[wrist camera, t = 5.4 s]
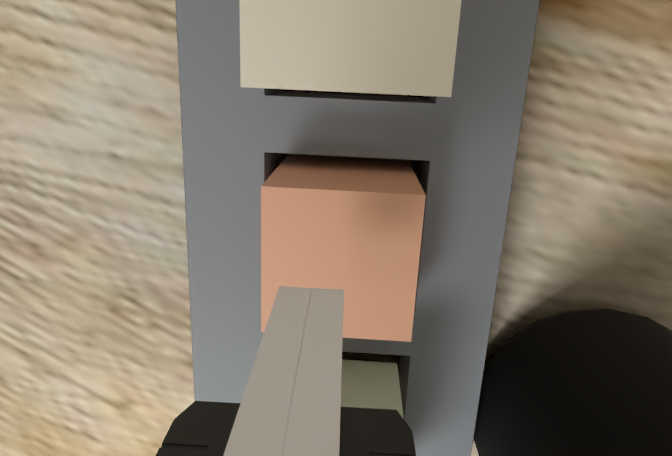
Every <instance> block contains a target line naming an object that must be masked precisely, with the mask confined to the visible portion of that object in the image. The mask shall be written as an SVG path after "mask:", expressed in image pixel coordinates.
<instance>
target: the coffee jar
mask: <svg viewBox="0 0 672 456" xmlns="http://www.w3.org/2000/svg"><path fill="white" fill-rule="evenodd" d="M474 441H475V444H476V447H477V451H478V454H479V456H672V331H671V330H669V329H667V328H665V327H664V326H662V325H660V324H659V323H657V322H655V321H653V320H652V319H650V318H648V317H644V316H639V315H634V314H629V313H625V312H620V311H615V310H610V309H594V310H581V311H568V312H565V313H561V314H558V315H555V316H552V317H549V318H547V319H544V320H541V321H538V322H536V323H533V324H531V325H529V326H528V327H527V328H525V329H524V330H522V331H521V332H520V333H518V334H517V335H515V336H514V337H513V338H511V339H510V340H508V341H507V342H506V343H505V344H504V345H503V346H502V347H501V348H500V350H499V351H498V352H497V354H496V355H495V356H494V357H493V359H492V360H491V361H490V363H489V364H488V365H487V366H486V368H485V369H484V371H483V377H482V384H481V390H480V397H479V404H478V410H477V417H476V423H475V430H474Z"/></svg>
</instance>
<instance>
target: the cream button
mask: <svg viewBox="0 0 672 456" xmlns="http://www.w3.org/2000/svg"><path fill="white" fill-rule="evenodd" d="M461 1H462V0H239V7H240V83H241V87H246V88H268V89H289V90H310V91H331V92H353V93H374V94H395V95H416V96H438V97H451V93H452V84H453V75H454V65H455V56H456V47H457V38H458V29H459V19H460V10H461Z"/></svg>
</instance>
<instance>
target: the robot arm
mask: <svg viewBox="0 0 672 456" xmlns="http://www.w3.org/2000/svg"><path fill="white" fill-rule="evenodd" d="M343 308H344V290H342V289H323V288H303V287H284V286H279V289H278V292H277V295H276V298H275V301H274V304H273V307H272V310H271V313H270V316H269V319H268V322H267V325H266V328H265V331H264V334H263V337H262V340H261V343H260V346H259V349H258V352H257V355H256V358H255V361H254V364H253V367H252V370H251V373H250V376H249V379H248V382H247V385H246V388H245V391H244V394H243V397H242V401H241V403H226V402H208V401H195V402H194V403H193V404H191V405H190V406H189V407H188V408H187V409H186V410H185V411H183V412H182V413H181V414H180V415H179V416H178V417H177V418H175V419H174V421H173V423H172V425H171V427H170V429H169V431H168V433H167V435H166V437H165V439H164V441H163V443H162V447H161V448H159V450H158V452H157V454H156V456H416V451H415V445H414V439H413V433H412V430H411V428H410V427H409V426H408V424H407V423H406V422H405V420H404V419H403V418H402V416H401V415H400V414H399V412H398V411H397V410H392V409H374V408H356V407H341V376H342V342H343Z"/></svg>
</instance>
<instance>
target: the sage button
mask: <svg viewBox="0 0 672 456" xmlns="http://www.w3.org/2000/svg"><path fill="white" fill-rule="evenodd" d="M341 407H356V408H374V409H392V410H397V411H398V412H399V414H400V415H401V416H402V418H403V419H404V417H403V409H402V400H401V392H400V384H399V375H398V367H397V363H388V362H372V361H357V360H342V376H341Z"/></svg>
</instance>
